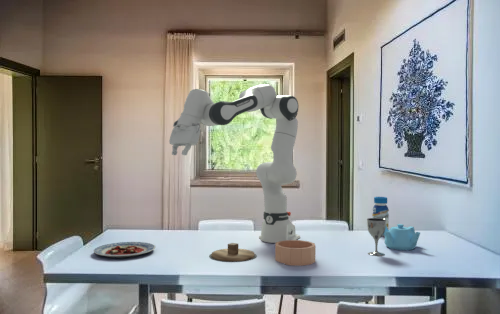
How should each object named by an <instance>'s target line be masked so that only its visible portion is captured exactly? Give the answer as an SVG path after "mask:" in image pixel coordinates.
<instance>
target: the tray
mask: <svg viewBox="0 0 500 314" xmlns="http://www.w3.org/2000/svg"><path fill="white" fill-rule="evenodd" d="M208 257H209V259H211V260H213V261H217V262H222V263H241V262H249V261H253V260H255V259H257V257H258V256H257V254H256V253H255V256H254V258H252V259H249V260H245V261H220V260H216V259H214V258H212V253H211V254H209V256H208Z"/></svg>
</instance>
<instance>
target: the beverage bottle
mask: <svg viewBox="0 0 500 314" xmlns="http://www.w3.org/2000/svg"><path fill="white" fill-rule="evenodd" d="M373 204H374V206H373V208H372V213H371V215H372V218H382V219H386V226H387V228H388V229H389V226H390V225H389V221H390V220H389V217H390V215H389V211H390V210H389V207H388V205H387V204H388V197H386V196H374V197H373ZM381 237H385V236H384V234H383V235H382V236H381Z"/></svg>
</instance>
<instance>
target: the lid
mask: <svg viewBox="0 0 500 314" xmlns="http://www.w3.org/2000/svg"><path fill="white" fill-rule="evenodd" d="M211 254H212V258H214V259H216V260H220V261H219V262H221V261H244V262H246V261H245V260H249V259H252V258H254V256H255V254H256V253H255V252H254V251H253V250H250V249H245V248H239V243H236V242H230V243H228V244H227V248H223V249H217V250H214V251H212V252H211ZM216 260H215V261H216ZM249 261H250V260H249Z"/></svg>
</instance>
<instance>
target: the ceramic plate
mask: <svg viewBox="0 0 500 314" xmlns="http://www.w3.org/2000/svg"><path fill="white" fill-rule="evenodd" d="M155 249H156V245H155V244H154V243H150V242H145V241H122V242H121V241H119V242H113V243H108V244H104V245H100V246H97V247H95V248H94V249H93V253H94V254H96V255H98V256H102V257H109V258H115V257H116V258H120V259H122V258H131V257H133V258H134V257H137V256H140V255H143V254H147V253H150V252H152V251H154V250H155Z"/></svg>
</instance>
